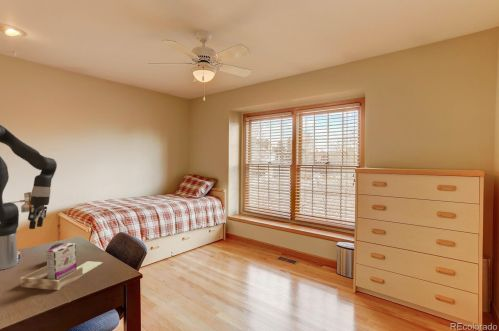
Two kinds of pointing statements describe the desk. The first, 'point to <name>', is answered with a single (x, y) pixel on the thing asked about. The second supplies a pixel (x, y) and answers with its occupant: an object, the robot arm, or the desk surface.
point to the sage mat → (89, 266)
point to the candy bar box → (61, 261)
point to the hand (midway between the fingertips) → (35, 227)
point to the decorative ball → (56, 245)
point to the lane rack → (43, 283)
